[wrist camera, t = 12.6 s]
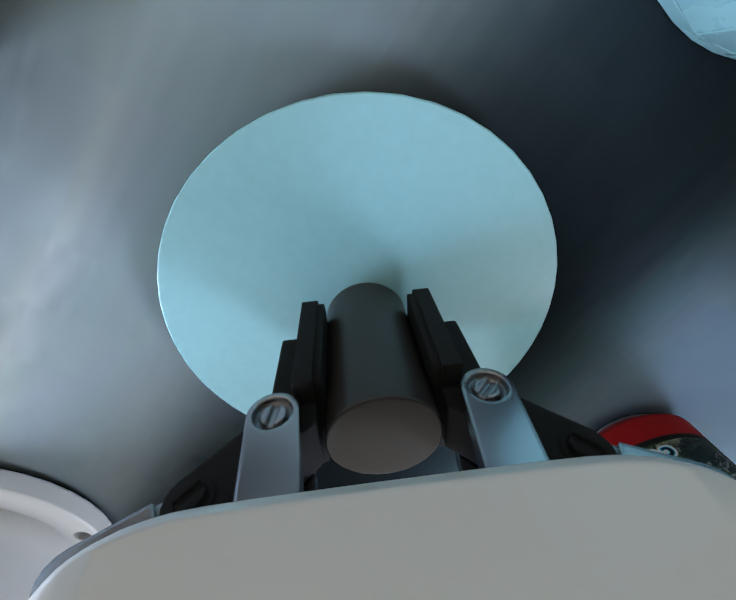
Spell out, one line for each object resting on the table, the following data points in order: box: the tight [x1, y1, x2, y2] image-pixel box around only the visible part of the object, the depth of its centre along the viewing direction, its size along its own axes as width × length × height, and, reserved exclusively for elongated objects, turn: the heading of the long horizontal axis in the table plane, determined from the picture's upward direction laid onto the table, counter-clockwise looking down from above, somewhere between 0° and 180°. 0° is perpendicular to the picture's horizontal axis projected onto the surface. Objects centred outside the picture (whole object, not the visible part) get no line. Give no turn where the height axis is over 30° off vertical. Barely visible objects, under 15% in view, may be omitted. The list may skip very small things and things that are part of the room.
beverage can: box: [596, 414, 736, 479], centre depth 16 cm, size 7×7×12 cm
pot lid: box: [157, 91, 557, 474], centre depth 11 cm, size 15×15×7 cm
